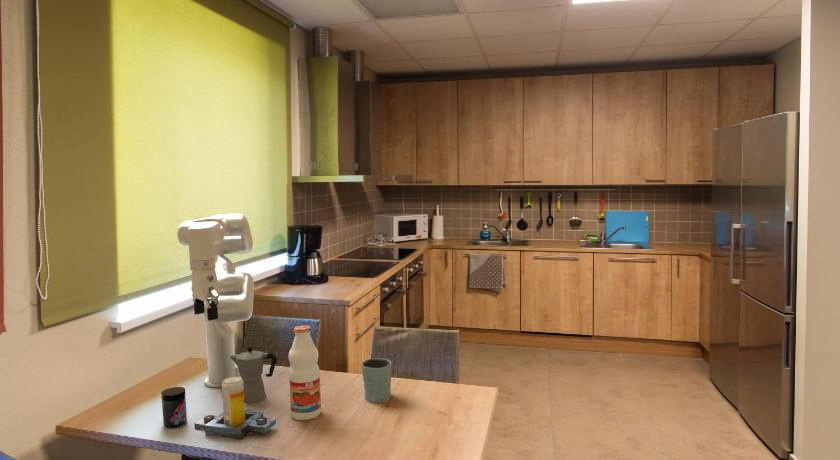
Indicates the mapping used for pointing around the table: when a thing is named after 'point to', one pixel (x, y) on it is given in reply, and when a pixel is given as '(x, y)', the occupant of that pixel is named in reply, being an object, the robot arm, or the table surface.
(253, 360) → the coffeepot
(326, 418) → the table surface
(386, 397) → the drinking glass
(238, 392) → the beer can
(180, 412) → the supplement container
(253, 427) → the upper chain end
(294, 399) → the fruit juice
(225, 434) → the lower chain end
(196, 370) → the table surface
